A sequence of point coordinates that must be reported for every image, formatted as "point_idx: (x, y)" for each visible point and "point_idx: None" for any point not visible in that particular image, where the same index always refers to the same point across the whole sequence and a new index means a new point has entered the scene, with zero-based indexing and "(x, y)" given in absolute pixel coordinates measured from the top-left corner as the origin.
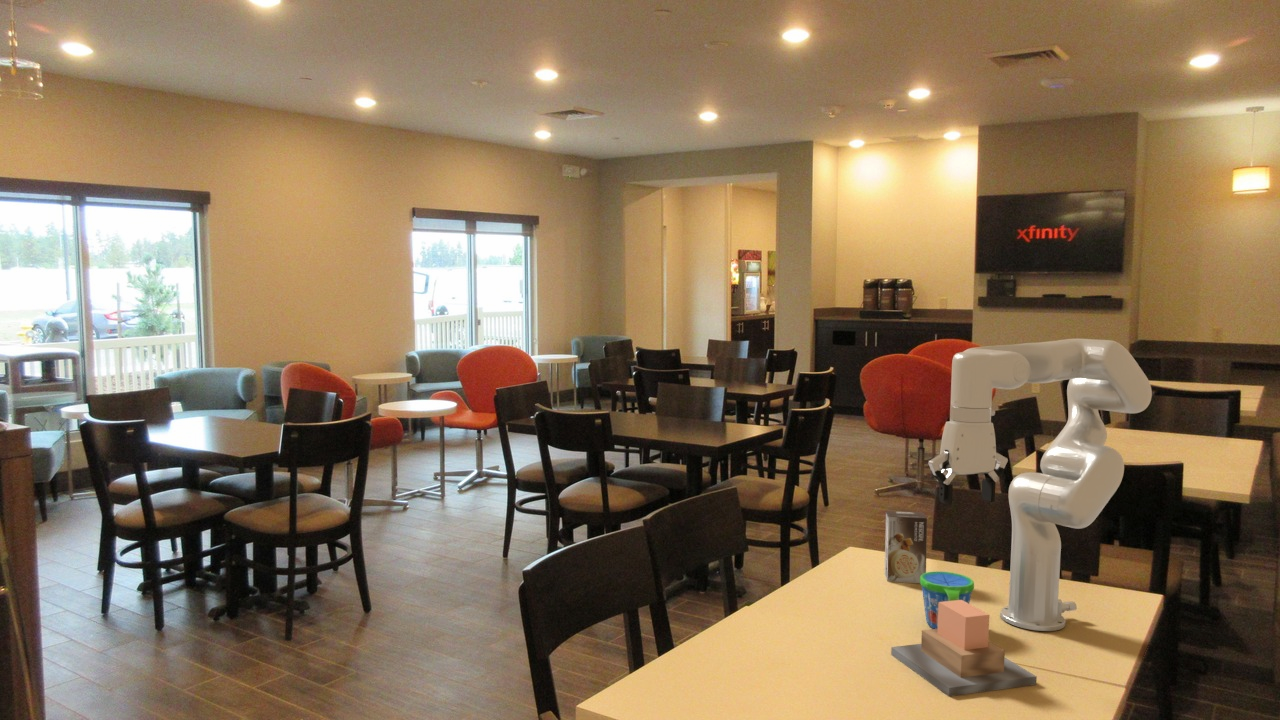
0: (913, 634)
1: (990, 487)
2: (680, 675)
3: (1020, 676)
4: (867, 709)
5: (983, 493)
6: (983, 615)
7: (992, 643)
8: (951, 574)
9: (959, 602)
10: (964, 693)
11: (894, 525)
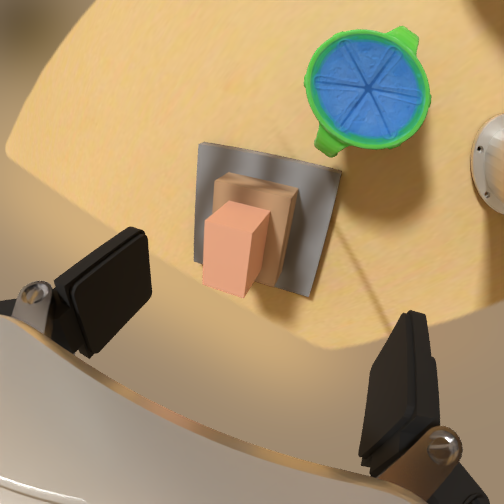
0: (286, 93)
1: (365, 429)
2: (34, 121)
3: (290, 287)
4: None
5: (397, 348)
6: (233, 294)
7: (277, 266)
8: (411, 66)
9: (238, 240)
10: None
11: None
